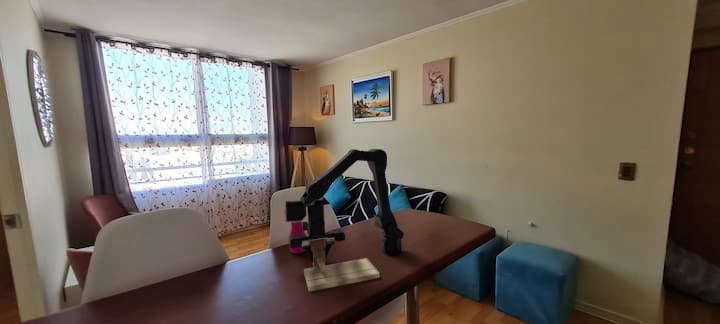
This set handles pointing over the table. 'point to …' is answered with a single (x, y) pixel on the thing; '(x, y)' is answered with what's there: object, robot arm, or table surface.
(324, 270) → the wooden mallet
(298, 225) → the pepper mill
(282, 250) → the table surface
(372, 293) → the table surface
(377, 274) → the board
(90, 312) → the table surface
